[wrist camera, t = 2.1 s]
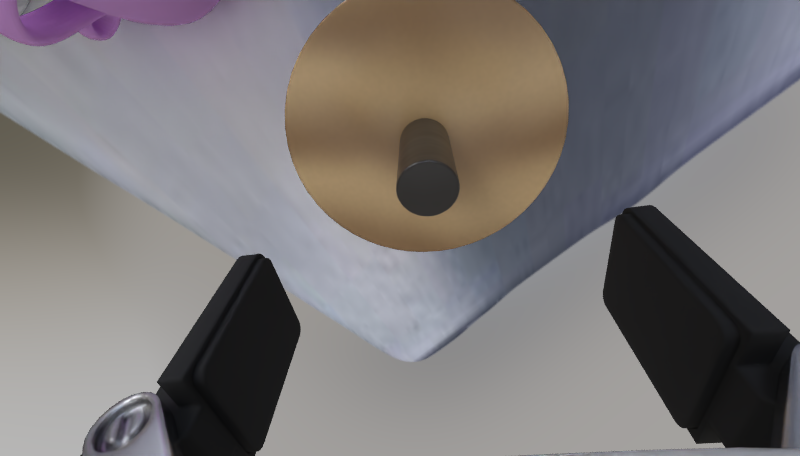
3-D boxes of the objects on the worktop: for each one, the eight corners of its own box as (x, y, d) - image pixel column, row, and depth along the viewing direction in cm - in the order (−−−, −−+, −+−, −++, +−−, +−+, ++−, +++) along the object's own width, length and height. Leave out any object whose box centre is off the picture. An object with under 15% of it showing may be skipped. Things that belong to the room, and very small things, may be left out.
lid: (247, 8, 16) (170, 21, 11) (571, -61, 14) (660, -84, 9) (332, 252, 23) (310, 328, 18) (552, 225, 22) (596, 300, 17)
